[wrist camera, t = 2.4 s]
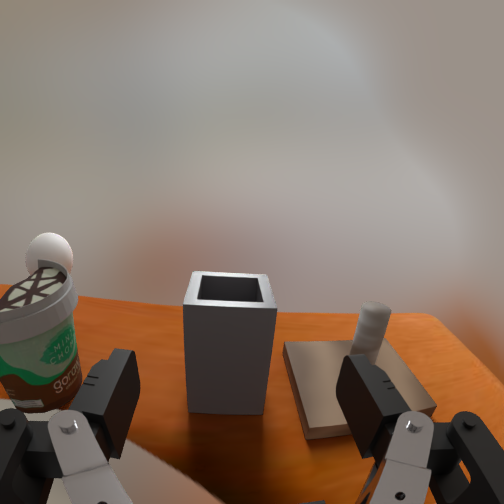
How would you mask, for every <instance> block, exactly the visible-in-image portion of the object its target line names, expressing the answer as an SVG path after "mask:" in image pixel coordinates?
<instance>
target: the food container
mask: <svg viewBox="0 0 504 504" xmlns="http://www.w3.org/2000/svg"><path fill="white" fill-rule="evenodd" d="M77 302H78V294H77V292H76V289H75V286H74V283H73V280H72V278H71V276H70V275H69V273H68V271H67V269H66V268H65V267H64V266H63V265H61V264H59V263H57V262H54V261H50V260H43V259H38V270H36V271H35V272H34V273H33V274H32V275H31V276H29V277H28V278H27V279H25V280H23V281H21V282H19V283H17V284H15V285H13V286H12V287H10V288H9V290H8V291H7V292H6V293H5V294H4V295H3V297H2V298H1V299H0V381H1V383H2V385H3V387H4V388H5V390H6V392H7V394H8V395H9V397H10V399H11V400H12V402H13V404H14V405H15V407H16V409H18V410H20V411H21V412H24V413H45V412H48V411H51V410H54V409H57V408H59V407H61V406H62V405H64V404H66V403H67V402H69V401H70V400H71V399H72V398H73V397H74V396H75V395H76V394H77V392H78V391H79V389H80V387H81V383H82V372H81V367H80V362H79V356H78V350H77V343H76V337H75V329H74V321H73V310H74V309H75V307H76V305H77Z"/></svg>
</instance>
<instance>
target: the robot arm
mask: <svg viewBox="0 0 504 504" xmlns="http://www.w3.org/2000/svg"><path fill="white" fill-rule="evenodd" d="M139 395H140V379H139V373H138V367H137V361H136V355H135V352H134V351H133V350H124V349H114V350H113V352H112V354H111V355H110V357H109V359H108V360H100V361H99V362H98V363H96V364H95V365H94V366H92V368H91V370H90V372H89V373H88V375H87V377H86V378H85V380H84V382H83V384H82V386H81V387H80V389H79V391H78V393H77V395H76V396H75V398H74V400H73V402H72V404H71V406H70V407H69V409H68V410H63V411H60V412H58V413H56V414H54V415H53V416H52V417H51V418H50V420H49V421H28V420H27V418H26V416H25V415H24V413H23V412H21V411H20V410H18V409H13V408H10V409H5V410H2V411H0V504H46V503H47V500H48V496H49V493H50V489H51V487H52V484H53V480H54V478H62V480H63V483H64V486H65V488H66V491H67V493H68V495H69V498H70V500H71V502H72V504H133V503H132V501H131V500H130V498H129V497H128V495H127V493H126V492H125V490H124V489H123V487H122V485H121V484H120V482H119V480H118V479H117V477H116V475H115V474H114V472H113V470H112V468H111V466H110V465H109V463H108V462H109V459H110V457H111V458H116V459H120V457H121V453H122V450H123V447H124V443H125V440H126V437H127V434H128V430H129V427H130V424H131V421H132V417H133V414H134V411H135V408H136V405H137V402H138V399H139ZM336 398H337V401H338V403H339V405H340V408H341V410H342V412H343V414H344V417H345V419H346V421H347V424H348V426H349V428H350V431H351V433H352V435H353V438H354V440H355V442H356V445H357V447H358V449H359V452H360V454H361V457H362V459H363V458H368V457H374V459H375V462H374V464H373V466H372V468H371V470H370V473H369V475H368V477H367V479H366V482H365V484H364V486H363V488H362V490H361V492H360V495H359V497H358V499H357V501H356V502H355V504H424V501H425V497H426V493H427V489H428V485H429V487H430V489H431V492H432V494H433V496H434V498H435V500H436V503H437V504H504V450H503V449H502V448H501V446H500V445H499V443H498V442H497V440H496V439H495V438H494V436H493V435H492V434H491V432H490V431H489V429H488V428H487V427H486V425H485V424H484V423H483V421H482V420H481V419H480V417H478V416H477V415H476V414H474V413H471V412H467V411H462V412H459V413H457V414H456V415H455V416H454V417H453V419H452V421H451V422H446V423H433V422H432V420H431V419H430V418H429V417H428V416H427V415H425V414H423V413H421V412H417V411H412V410H411V409H410V407H409V406H408V404H407V403H406V401H405V400H404V398H403V397H402V395H401V394H400V393H399V391H398V390H397V388H395V385H394V384H393V382H391V379H390V378H389V376H388V375H387V374H386V372H385V371H384V370H382V369H381V368H379V367H378V366H377V365H372V364H371V363H370V361H369V360H368V358H367V357H366V356H365V355H364V354H356V355H346V356H345V357H344V358H343V362H342V365H341V369H340V373H339V377H338V380H337V384H336ZM461 460H462V461H463V463H464V465H465V466H466V468H467V470H468V472H469V473H470V476H471V482H470V484H469V482H468V480H467V478H466V476H465V475H464V473H463V471H462V469H461V467H460V466H459V463H460V462H461ZM301 504H325V501H324V500H323V501H316V502H309V503H301Z"/></svg>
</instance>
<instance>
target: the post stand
mask: <svg viewBox="0 0 504 504" xmlns="http://www.w3.org/2000/svg"><path fill="white" fill-rule="evenodd" d="M390 314H391V309H390V308H389V307H388V306H386V305H384V304H382V303H379V302H372V301H370V302H364V303H363V304H362V306H361V311H360V315H359V319H358V323H357V327H356V331H355V335H354V339H353V340H346V341H312V342H284V347H283V357H284V360H285V364H286V368H287V372H288V375H289V379H290V383H291V386H292V390H293V394H294V398H295V401H296V405H297V409H298V412H299V416H300V420H301V424H302V427H303V431H304V435H305V439H306V440H307V439H318V438H327V437H335V436H343V435H350V434H352V433H351V431H350V428H349V426H348V424H347V421H346V419H345V417H344V414H343V412H342V410H341V408H340V405H339V403H338V401H337V398H336V384H337V380H338V377H339V373H340V369H341V365H342V362H343V358H344V357H345V356H346V355H356V354H364V355H365V356H366V357H367V358H368V360H369V361H370V363H371V364H372V365H377V366H378V367H379V368H381V369H382V370H384V371H385V372H386V374H387V375H388V376H389V378H390V379H391V382H393V384H394V385H395V388H397V390H398V391H399V393H400V394H401V395H402V397H403V398H404V400H405V401H406V403H407V404H408V406H409V407H410V409H411V410H412V411H417V412H421V413H423V414H425V415H427V416H428V417H429V418H430V417H431V416H432V414H433V412H434V410H435V409H436V407H437V405H436V403H435V402H434V401H433V399H432V398H431V397H430V395H429V394H428V393H427V391H426V390H425V389H424V387H423V386H422V385H421V383H420V382H419V381H418V379H417V378H416V377H415V375H414V374H413V373H412V372H411V370H410V369H409V368H408V366H407V365H406V364H405V363H404V361H403V360H402V359H401V357H400V356H399V355H398V354H397V352H396V351H395V350H394V349H393V347H392V346H391V345H390V343H389V342H388V341H387V340H386V338H384V335H385V332H386V328H387V325H388V321H389V318H390Z"/></svg>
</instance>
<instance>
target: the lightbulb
mask: <svg viewBox="0 0 504 504" xmlns="http://www.w3.org/2000/svg"><path fill="white" fill-rule="evenodd" d="M38 259H43V260H50V261H54V262H57V263H59V264H61V265H63V266H64V267H65V268H66V269H67V271H68V273H69V275H70V272H71V268H72V265H73V253H72V250H71V248H70V245H69V244H68V242H67V241H66V240H65V239H64V238H63V237H61V236H60V235H57V234H55V233H44V234H40V235H38V236H37V237H36V238H34V239H33V241H31V243H30V245H29V247H28V249H27V252H26V267H27V269H28V272H29V273H30V275H32V274H33V273H34V272H35V271H36V270H38Z"/></svg>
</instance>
